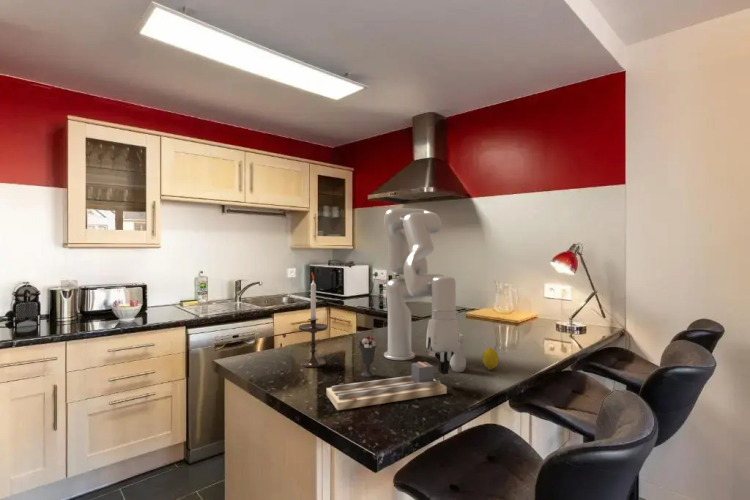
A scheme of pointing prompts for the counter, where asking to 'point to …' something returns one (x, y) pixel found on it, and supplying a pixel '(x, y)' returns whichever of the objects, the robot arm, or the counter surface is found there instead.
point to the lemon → (490, 358)
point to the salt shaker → (459, 358)
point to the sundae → (367, 354)
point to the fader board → (381, 392)
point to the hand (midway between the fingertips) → (443, 372)
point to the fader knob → (422, 372)
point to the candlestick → (313, 332)
